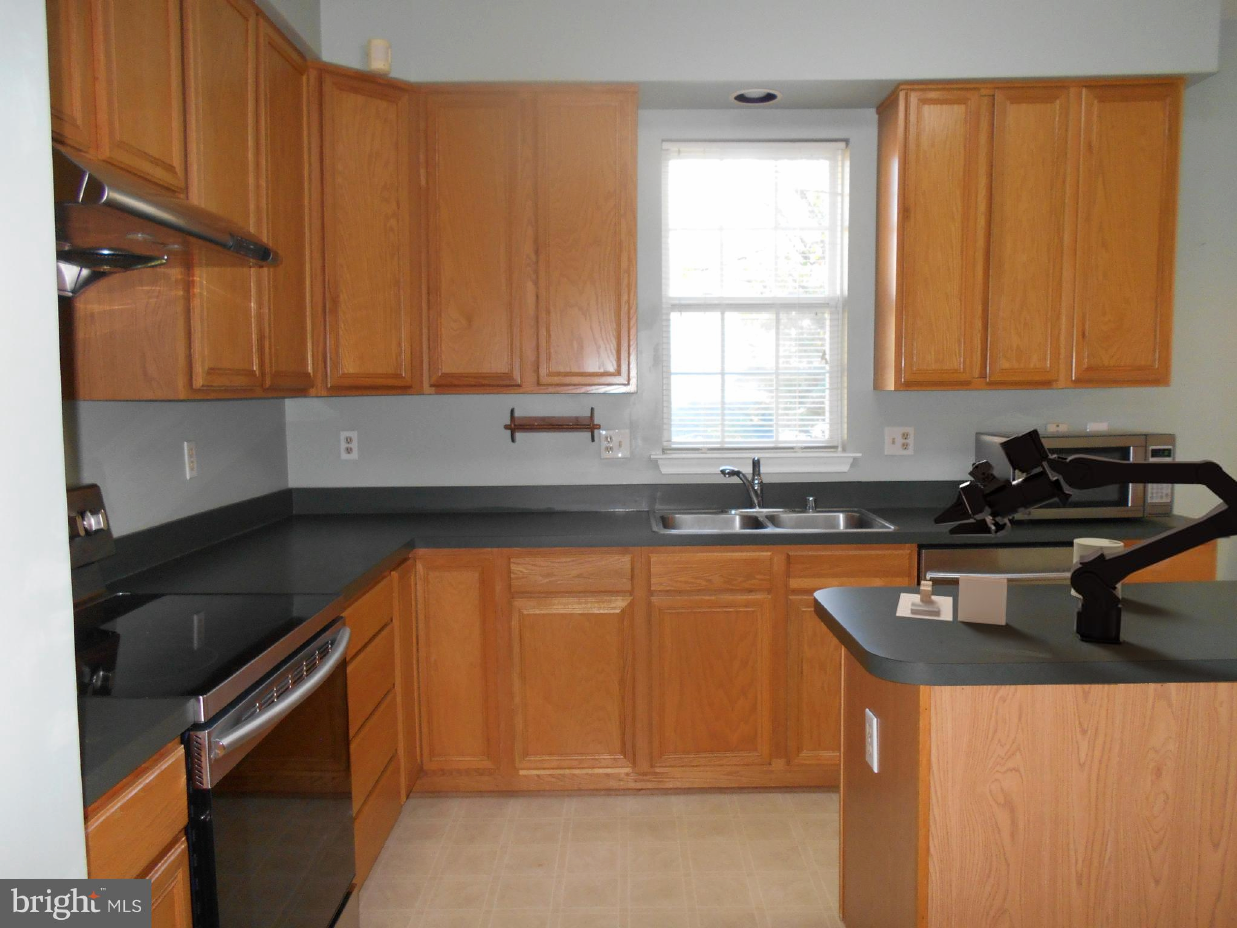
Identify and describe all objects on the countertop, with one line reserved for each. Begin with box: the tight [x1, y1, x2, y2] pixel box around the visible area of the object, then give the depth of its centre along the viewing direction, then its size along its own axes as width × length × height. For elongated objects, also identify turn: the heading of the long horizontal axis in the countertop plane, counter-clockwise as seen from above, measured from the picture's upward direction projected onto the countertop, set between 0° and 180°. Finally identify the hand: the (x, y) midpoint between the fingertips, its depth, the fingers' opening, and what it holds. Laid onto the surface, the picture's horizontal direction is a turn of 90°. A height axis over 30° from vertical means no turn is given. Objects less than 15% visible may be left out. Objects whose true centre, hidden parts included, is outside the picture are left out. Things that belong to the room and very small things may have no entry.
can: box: [1070, 537, 1125, 599], centre depth 178 cm, size 9×9×12 cm
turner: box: [910, 580, 939, 616], centre depth 169 cm, size 13×5×4 cm, turn 159°
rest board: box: [895, 592, 953, 622], centre depth 169 cm, size 10×18×1 cm, turn 159°
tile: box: [957, 574, 1008, 626], centre depth 158 cm, size 8×2×9 cm, turn 69°
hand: (942, 527), depth 161 cm, fingers open, 9 cm apart
